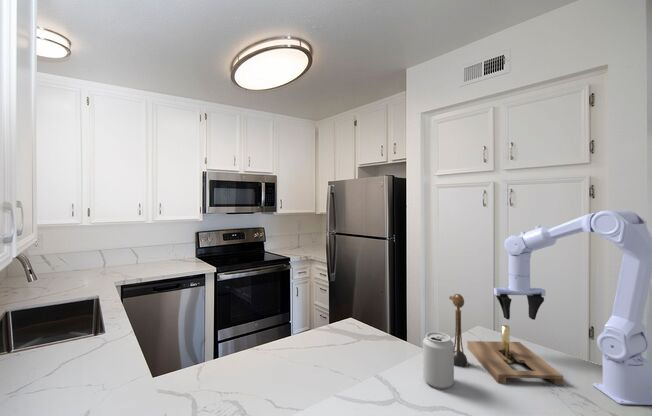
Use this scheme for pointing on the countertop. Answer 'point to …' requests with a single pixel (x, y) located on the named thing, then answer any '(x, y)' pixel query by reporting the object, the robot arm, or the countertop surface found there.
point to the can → (438, 360)
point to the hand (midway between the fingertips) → (519, 318)
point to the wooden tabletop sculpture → (458, 332)
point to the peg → (506, 343)
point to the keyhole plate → (497, 363)
